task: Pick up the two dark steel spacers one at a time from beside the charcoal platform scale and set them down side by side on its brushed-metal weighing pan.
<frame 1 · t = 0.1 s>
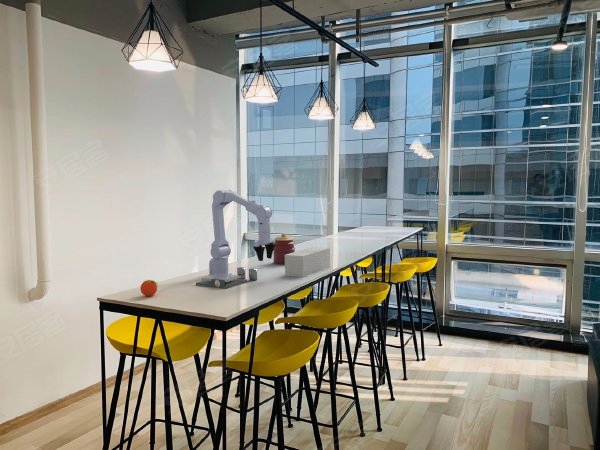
hand: (265, 259, 231), 10 cm above the table, tool pointing down, fingers open, 7 cm apart
clementine: (150, 296, 203), on the table
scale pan: (221, 278, 225), point 2 cm above the table, slide at -0.2 cm
scale: (221, 283, 225), on the table
light grey rectangular block: (308, 271, 254), on the table
spacer b: (253, 280, 232), on the table
spacer a: (241, 278, 236), on the table
canister: (284, 263, 280), on the table
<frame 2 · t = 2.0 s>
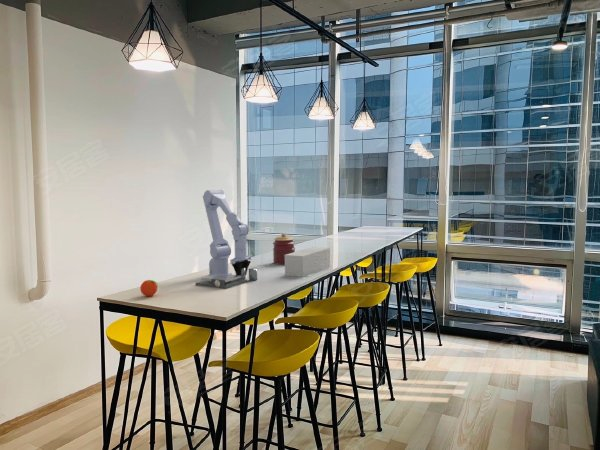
hand: (241, 276, 235), 1 cm above the table, tool pointing down, fingers closed on spacer a, 4 cm apart
spacer a: (241, 278, 236), on the table, touching gripper
everything else where it was.
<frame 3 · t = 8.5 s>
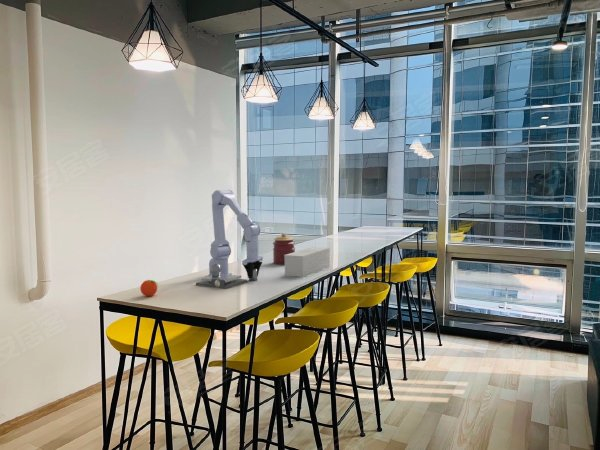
hand: (253, 277, 232), 1 cm above the table, tool pointing down, fingers closed on spacer b, 4 cm apart
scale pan: (221, 278, 225), point 2 cm above the table, slide at -0.3 cm, touching spacer a
spacer b: (253, 280, 232), on the table, touching gripper
spacer a: (216, 276, 227), point 3 cm above the table, touching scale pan
everything else where it was.
when the fingers open (6 cm above the table, at t = 11.4 s): spacer b drops 1 cm, resting on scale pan.
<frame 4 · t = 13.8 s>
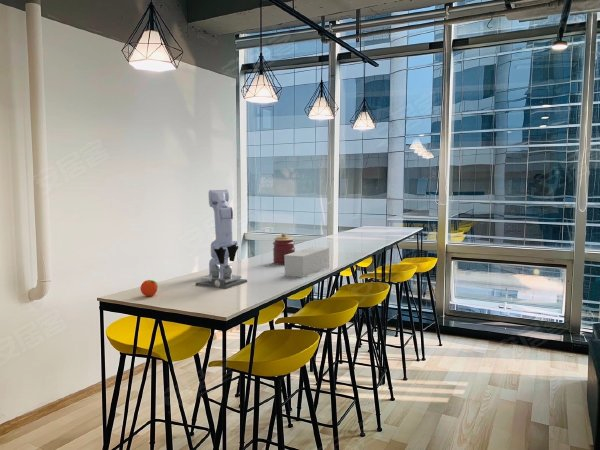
hand: (226, 262, 223), 10 cm above the table, tool pointing down, fingers open, 7 cm apart
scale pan: (221, 278, 225), point 2 cm above the table, slide at -0.3 cm, touching spacer a, spacer b
spacer b: (227, 277, 223), point 3 cm above the table, touching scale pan
everything else where it was.
at the end: spacer a inside the target area on the scale (0.5 cm from its centre), point 3.2 cm above the scale's base; spacer b inside the target area on the scale (0.0 cm from its centre), point 3.2 cm above the scale's base; spacer b tilted 0° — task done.
